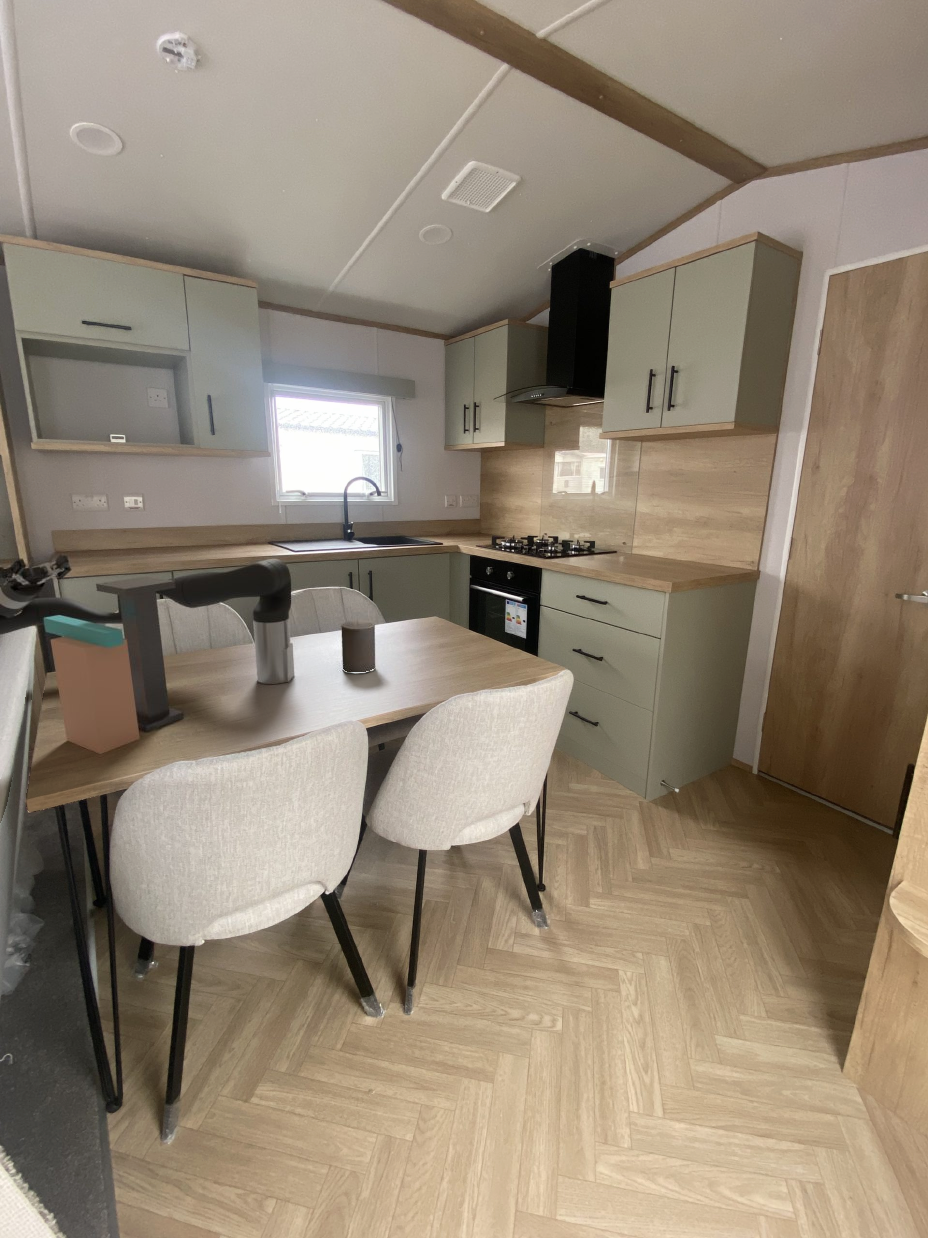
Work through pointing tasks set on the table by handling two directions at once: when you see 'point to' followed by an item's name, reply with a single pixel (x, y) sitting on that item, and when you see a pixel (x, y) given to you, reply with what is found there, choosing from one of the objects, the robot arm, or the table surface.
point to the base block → (95, 694)
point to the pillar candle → (358, 646)
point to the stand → (144, 648)
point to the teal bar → (84, 631)
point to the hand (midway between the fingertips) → (44, 560)
